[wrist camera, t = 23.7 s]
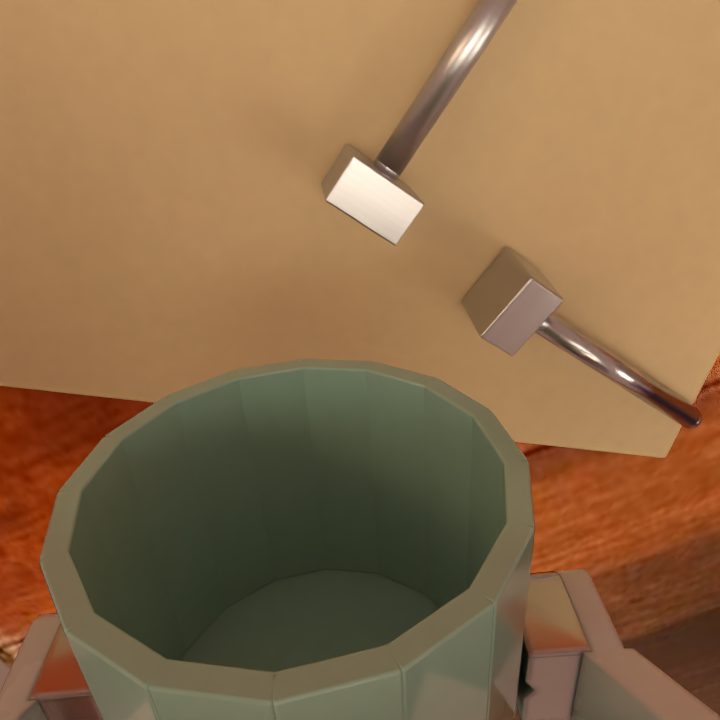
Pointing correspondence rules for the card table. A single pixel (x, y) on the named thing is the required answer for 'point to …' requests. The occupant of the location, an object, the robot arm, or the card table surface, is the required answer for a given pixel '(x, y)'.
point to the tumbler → (298, 551)
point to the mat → (336, 229)
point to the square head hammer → (409, 136)
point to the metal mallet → (555, 330)
